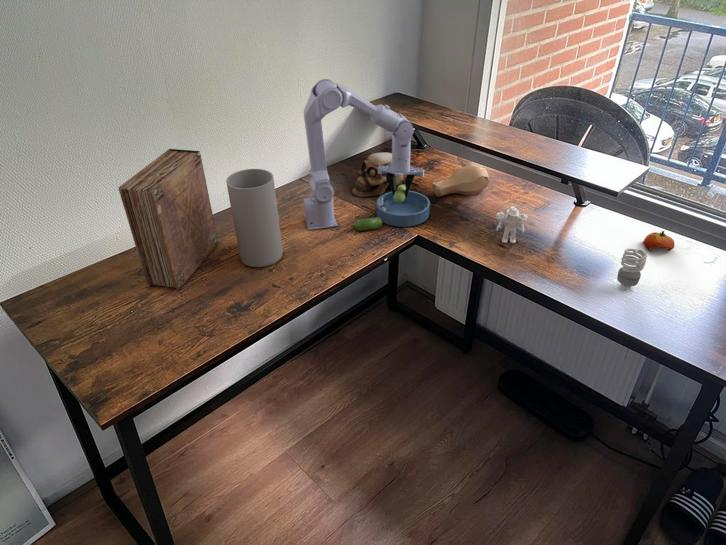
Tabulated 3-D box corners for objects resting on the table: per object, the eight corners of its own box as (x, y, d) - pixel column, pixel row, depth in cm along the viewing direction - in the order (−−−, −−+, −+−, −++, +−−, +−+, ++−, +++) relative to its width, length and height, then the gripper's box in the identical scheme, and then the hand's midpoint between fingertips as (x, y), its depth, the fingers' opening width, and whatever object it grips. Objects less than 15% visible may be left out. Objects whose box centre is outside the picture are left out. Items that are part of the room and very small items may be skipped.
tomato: (683, 246, 159) (674, 232, 156) (667, 264, 160) (657, 251, 156) (661, 237, 166) (651, 223, 162) (645, 254, 167) (635, 241, 163)
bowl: (384, 231, 174) (384, 218, 171) (371, 206, 187) (370, 194, 185) (436, 223, 177) (437, 211, 174) (419, 199, 190) (420, 187, 188)
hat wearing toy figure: (523, 238, 168) (529, 203, 161) (524, 245, 165) (530, 209, 158) (493, 236, 170) (497, 201, 163) (493, 243, 166) (497, 207, 160)
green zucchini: (352, 234, 173) (352, 224, 170) (350, 228, 175) (349, 218, 173) (383, 229, 174) (383, 219, 172) (380, 224, 177) (380, 214, 175)
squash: (494, 194, 193) (496, 173, 186) (440, 209, 190) (440, 188, 184) (481, 177, 200) (482, 156, 194) (428, 191, 198) (428, 170, 191)
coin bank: (348, 194, 194) (350, 157, 187) (367, 179, 208) (369, 144, 202) (391, 203, 189) (394, 165, 183) (406, 187, 203) (410, 151, 197)
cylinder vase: (236, 250, 167) (222, 173, 152) (277, 241, 170) (267, 165, 156) (244, 272, 157) (230, 192, 143) (287, 262, 160) (278, 183, 146)
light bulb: (631, 281, 149) (642, 243, 142) (640, 294, 144) (653, 255, 137) (610, 282, 149) (620, 244, 142) (618, 295, 144) (630, 256, 137)
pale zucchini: (403, 205, 178) (403, 195, 176) (392, 204, 179) (392, 194, 177) (409, 191, 186) (409, 182, 184) (398, 190, 187) (398, 181, 185)
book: (177, 291, 150) (151, 191, 133) (147, 287, 152) (117, 188, 135) (218, 242, 170) (200, 150, 153) (191, 239, 172) (169, 147, 155)
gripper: (375, 159, 172) (375, 198, 180) (421, 162, 169) (420, 202, 176) (380, 150, 177) (380, 188, 185) (425, 153, 174) (424, 192, 182)
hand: (400, 194), depth 181 cm, fingers closed on pale zucchini, 3 cm apart
